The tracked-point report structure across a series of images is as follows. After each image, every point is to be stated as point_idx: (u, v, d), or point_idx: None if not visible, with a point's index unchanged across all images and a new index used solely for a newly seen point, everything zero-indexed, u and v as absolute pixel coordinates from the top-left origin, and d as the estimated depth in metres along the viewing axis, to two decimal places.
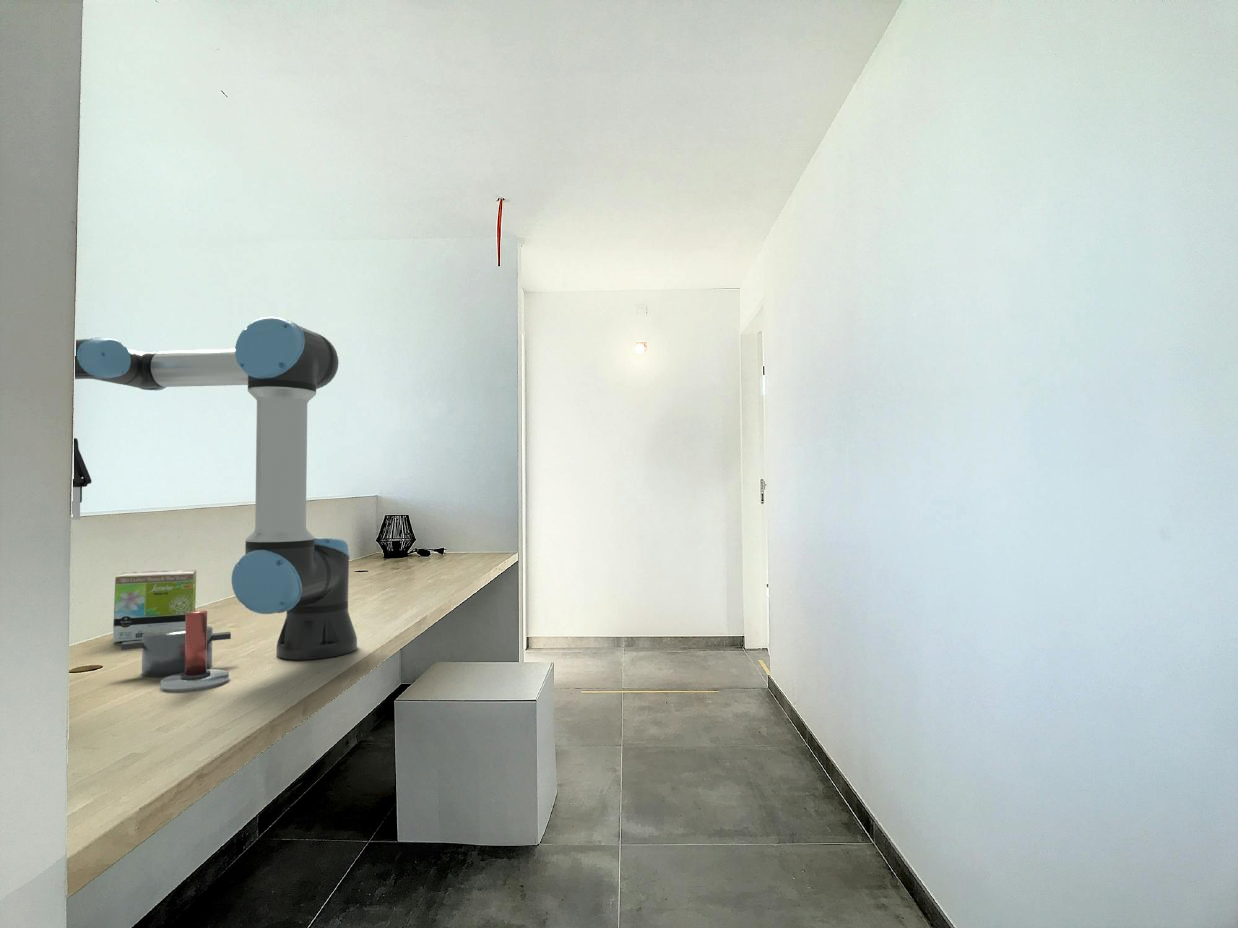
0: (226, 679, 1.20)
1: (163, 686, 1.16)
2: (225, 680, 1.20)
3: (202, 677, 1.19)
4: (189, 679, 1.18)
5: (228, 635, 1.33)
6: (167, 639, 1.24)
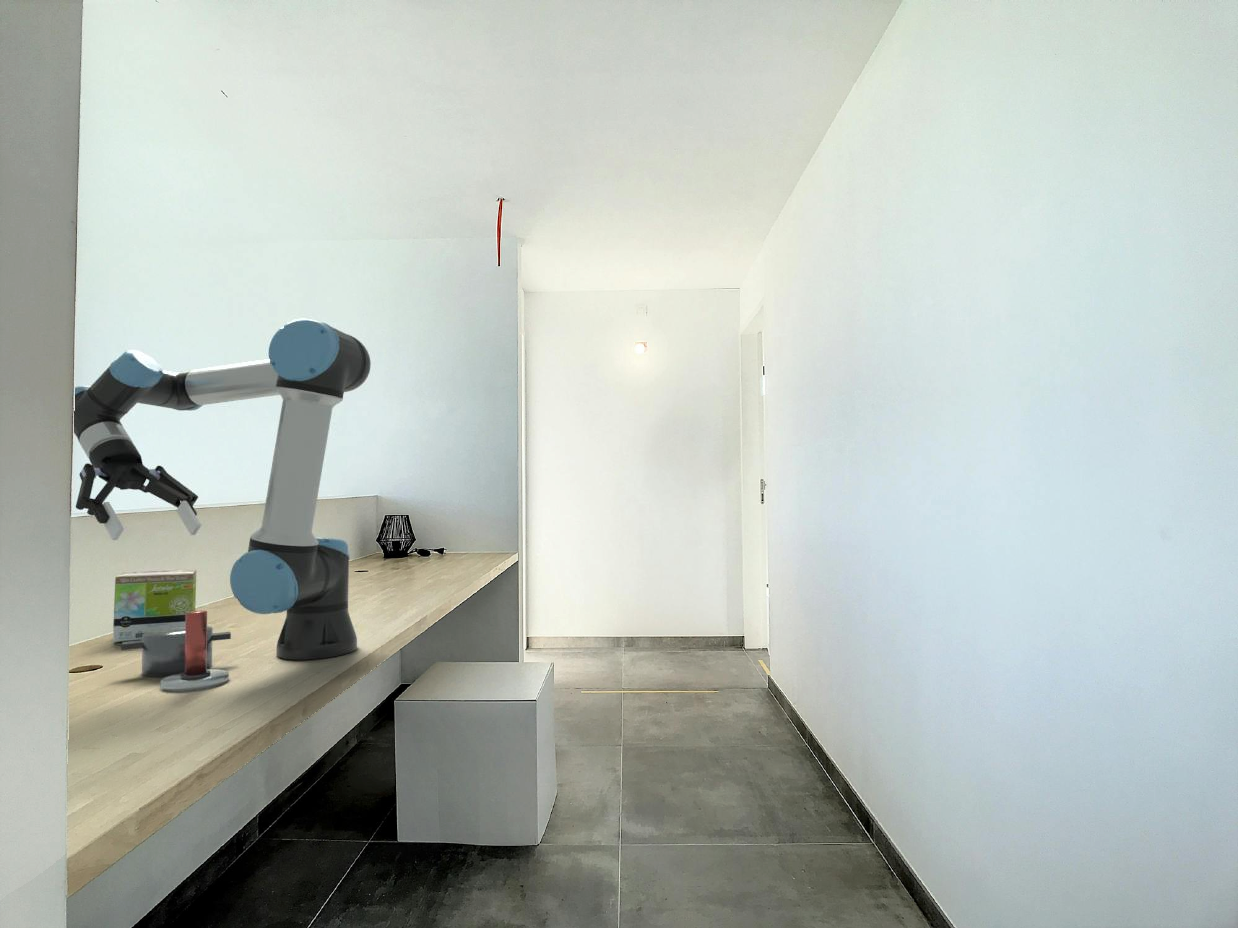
0: (226, 679, 1.20)
1: (163, 686, 1.16)
2: (225, 680, 1.20)
3: (202, 677, 1.19)
4: (189, 679, 1.18)
5: (228, 635, 1.33)
6: (167, 639, 1.24)
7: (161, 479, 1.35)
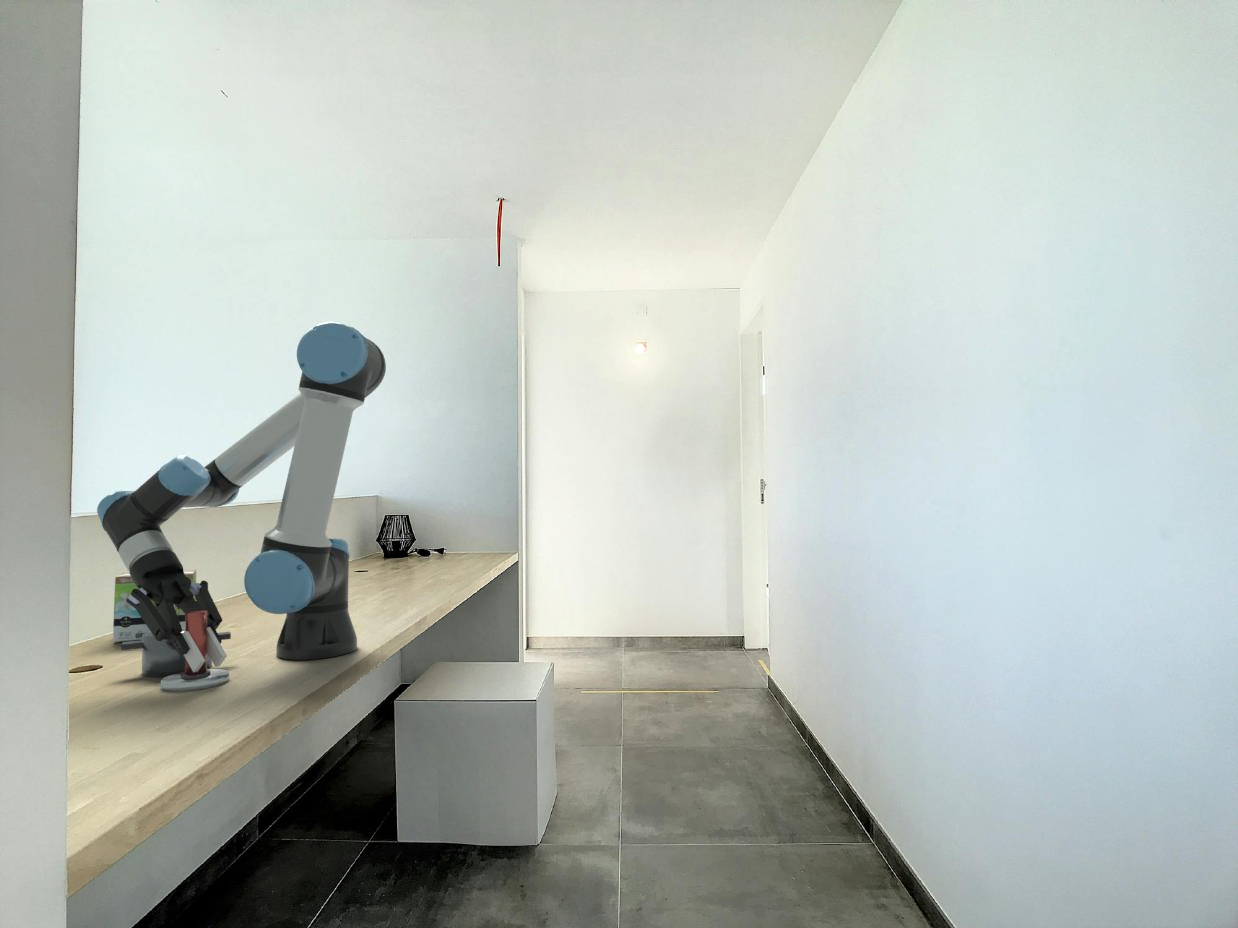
0: (226, 679, 1.20)
1: (163, 686, 1.16)
2: (225, 680, 1.20)
3: (202, 677, 1.19)
4: (189, 679, 1.18)
5: (228, 635, 1.33)
6: None
7: (199, 594, 1.27)
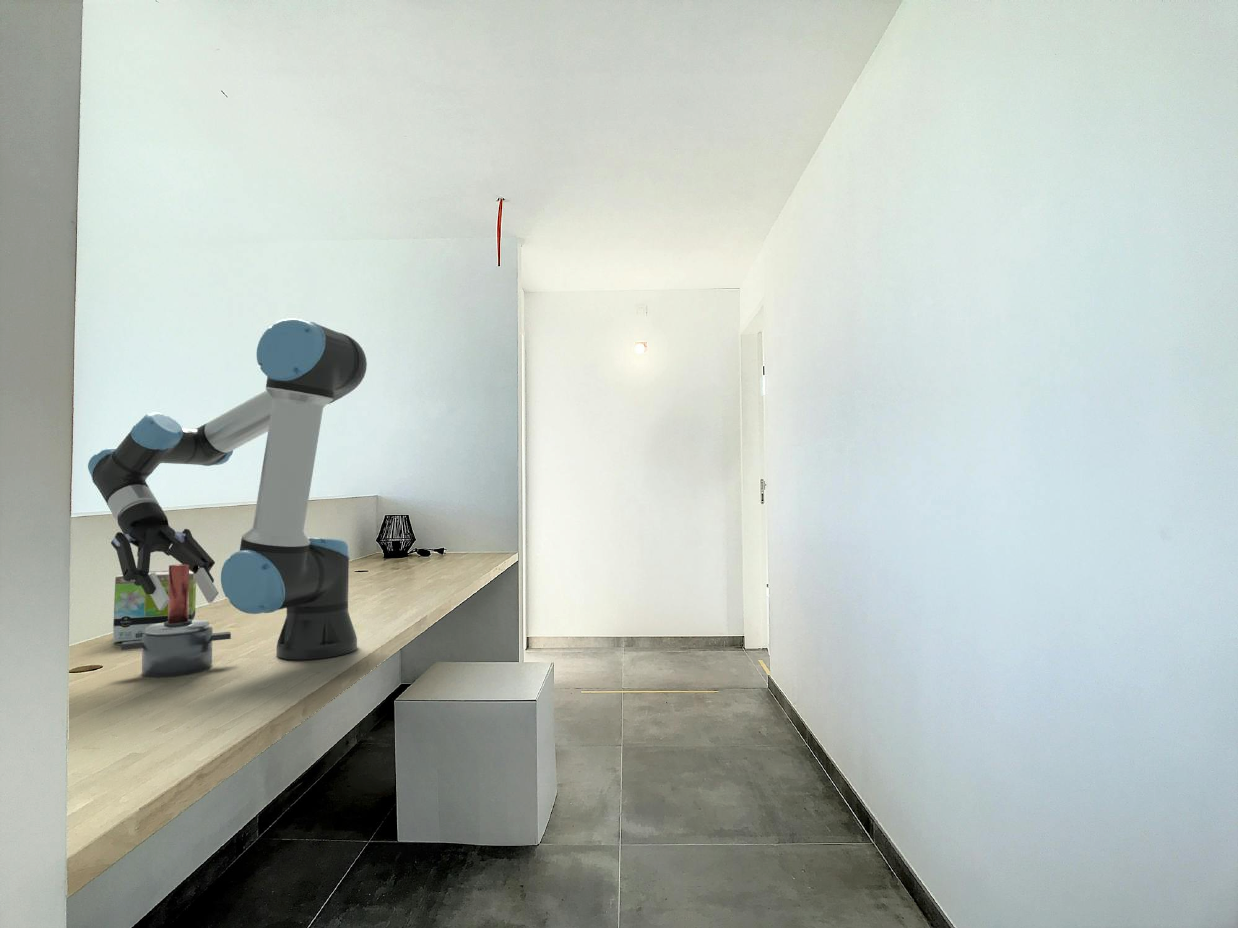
0: (206, 627, 1.30)
1: (147, 632, 1.26)
2: (205, 628, 1.30)
3: (184, 625, 1.29)
4: (172, 626, 1.28)
5: (228, 635, 1.33)
6: (167, 639, 1.24)
7: (185, 542, 1.38)
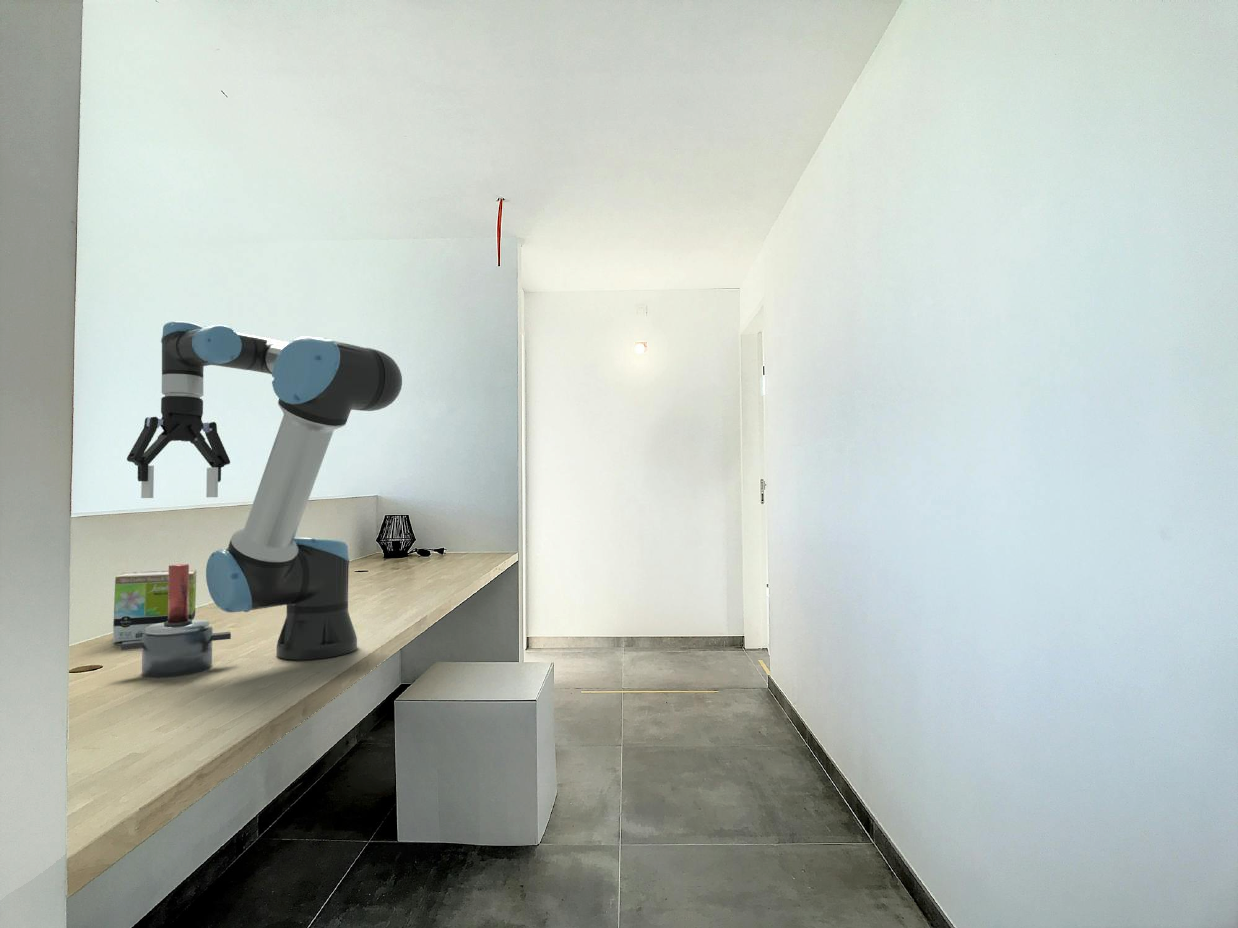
0: (206, 627, 1.30)
1: (147, 632, 1.26)
2: (205, 628, 1.30)
3: (184, 625, 1.29)
4: (172, 626, 1.28)
5: (228, 635, 1.33)
6: (167, 639, 1.24)
7: (209, 434, 1.52)
